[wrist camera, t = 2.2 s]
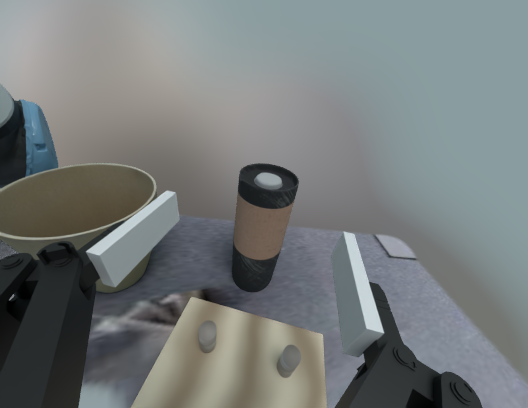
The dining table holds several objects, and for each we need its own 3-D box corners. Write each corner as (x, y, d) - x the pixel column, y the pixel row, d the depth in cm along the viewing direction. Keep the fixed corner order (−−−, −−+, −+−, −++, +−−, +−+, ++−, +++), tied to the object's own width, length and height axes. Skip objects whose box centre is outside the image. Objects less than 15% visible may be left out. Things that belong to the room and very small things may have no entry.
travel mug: (280, 272, 36) (309, 177, 25) (255, 303, 31) (279, 199, 19) (249, 251, 39) (262, 158, 28) (221, 275, 34) (225, 172, 23)
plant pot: (78, 245, 34) (31, 162, 25) (170, 234, 40) (159, 163, 30) (31, 337, 23) (-83, 250, 14) (168, 305, 29) (150, 227, 19)
